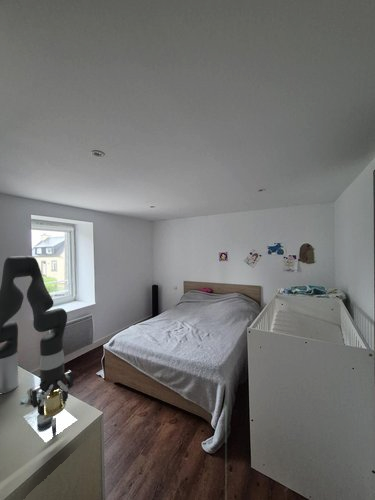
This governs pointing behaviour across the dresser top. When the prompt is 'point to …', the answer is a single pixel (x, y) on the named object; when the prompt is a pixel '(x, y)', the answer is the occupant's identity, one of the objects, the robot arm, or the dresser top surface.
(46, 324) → the robot arm
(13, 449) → the dresser top surface
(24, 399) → the pacifier
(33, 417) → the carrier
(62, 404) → the brass octagonal tube
